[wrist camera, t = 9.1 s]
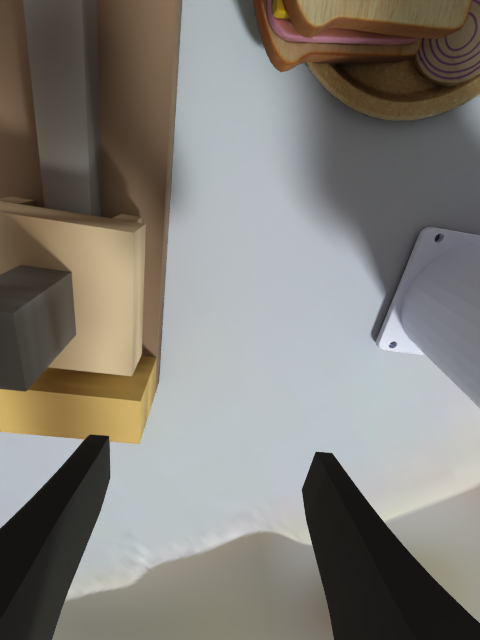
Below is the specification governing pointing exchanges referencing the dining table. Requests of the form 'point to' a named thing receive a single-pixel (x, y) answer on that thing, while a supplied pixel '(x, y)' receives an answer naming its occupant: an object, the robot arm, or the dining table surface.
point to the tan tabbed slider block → (68, 292)
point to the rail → (124, 127)
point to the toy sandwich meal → (380, 51)
